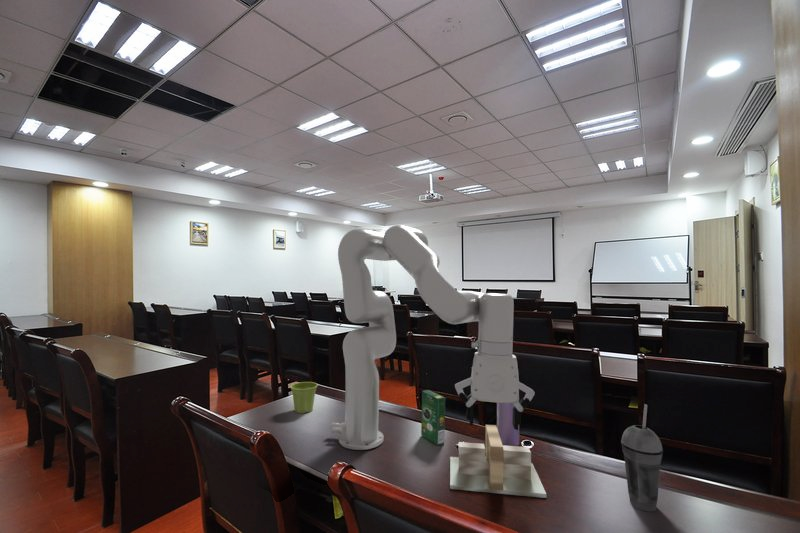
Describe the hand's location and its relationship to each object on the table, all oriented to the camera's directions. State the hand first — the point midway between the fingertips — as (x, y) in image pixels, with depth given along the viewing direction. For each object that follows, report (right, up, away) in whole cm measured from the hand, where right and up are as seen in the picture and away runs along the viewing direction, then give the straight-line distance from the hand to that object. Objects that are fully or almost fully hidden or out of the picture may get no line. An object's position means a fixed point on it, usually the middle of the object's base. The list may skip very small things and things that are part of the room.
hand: (492, 425), depth 79 cm
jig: (+1, -13, +3) cm, 14 cm away
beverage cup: (+29, -13, -7) cm, 32 cm away
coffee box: (-11, -14, +22) cm, 29 cm away
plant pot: (-55, -15, +45) cm, 72 cm away
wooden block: (+1, -12, +2) cm, 13 cm away
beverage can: (+10, -15, +20) cm, 27 cm away
